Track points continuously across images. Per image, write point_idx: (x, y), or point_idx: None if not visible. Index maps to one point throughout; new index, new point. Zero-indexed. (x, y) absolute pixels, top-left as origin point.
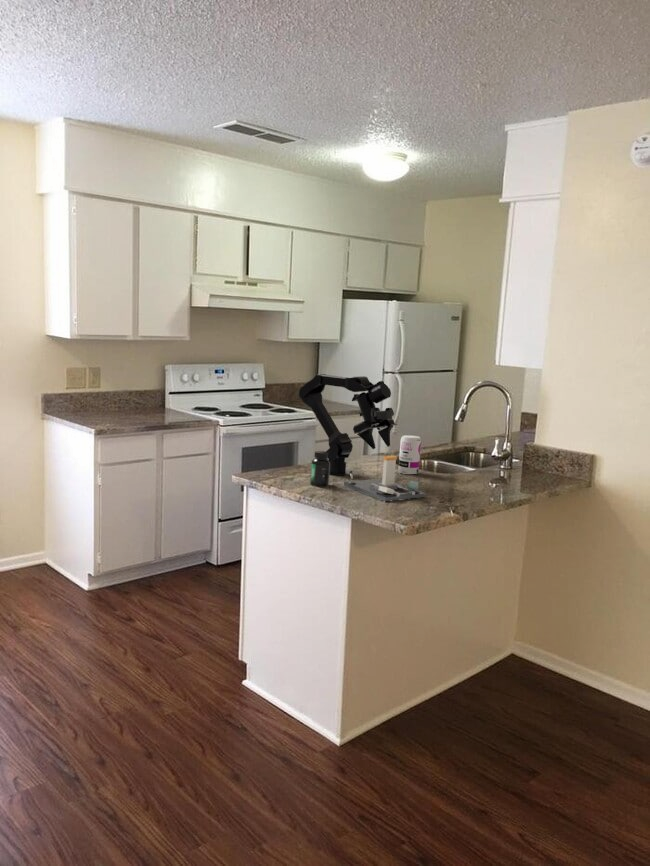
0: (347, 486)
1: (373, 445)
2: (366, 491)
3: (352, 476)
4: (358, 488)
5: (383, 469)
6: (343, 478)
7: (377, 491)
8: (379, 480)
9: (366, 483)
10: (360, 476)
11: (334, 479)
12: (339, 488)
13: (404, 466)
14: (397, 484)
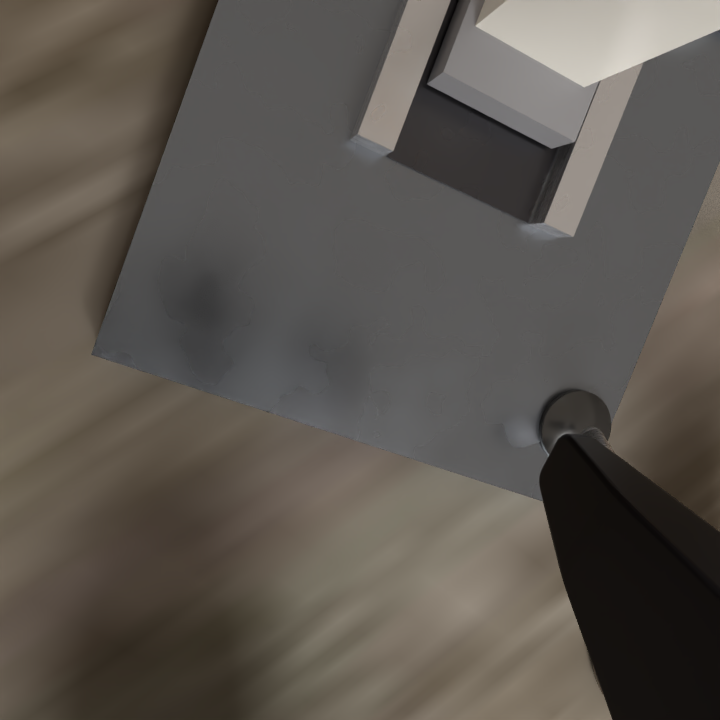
0: None
1: (640, 490)
2: (710, 171)
3: (611, 450)
4: (659, 290)
5: (718, 21)
6: (300, 693)
7: (679, 72)
8: (238, 318)
9: (475, 333)
10: (61, 668)
11: (403, 706)
12: (648, 463)
13: None
14: (242, 55)
